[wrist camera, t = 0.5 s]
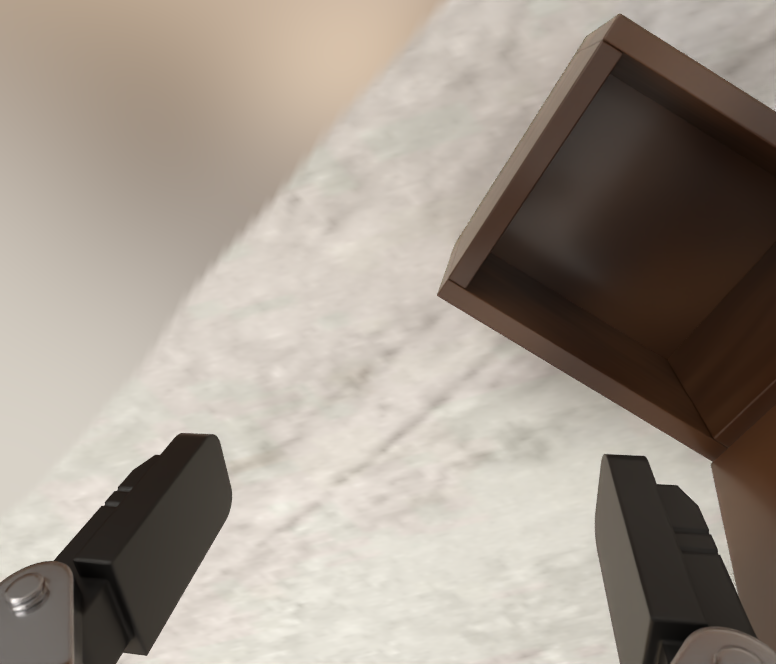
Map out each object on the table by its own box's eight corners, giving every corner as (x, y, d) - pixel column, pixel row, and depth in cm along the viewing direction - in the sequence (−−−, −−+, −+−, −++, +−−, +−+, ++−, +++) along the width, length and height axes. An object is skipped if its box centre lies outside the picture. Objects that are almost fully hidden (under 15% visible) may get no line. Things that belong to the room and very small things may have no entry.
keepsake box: (454, 244, 28) (436, 295, 21) (586, 35, 24) (619, 12, 17) (664, 372, 29) (715, 463, 22) (834, 191, 24) (968, 232, 17)
